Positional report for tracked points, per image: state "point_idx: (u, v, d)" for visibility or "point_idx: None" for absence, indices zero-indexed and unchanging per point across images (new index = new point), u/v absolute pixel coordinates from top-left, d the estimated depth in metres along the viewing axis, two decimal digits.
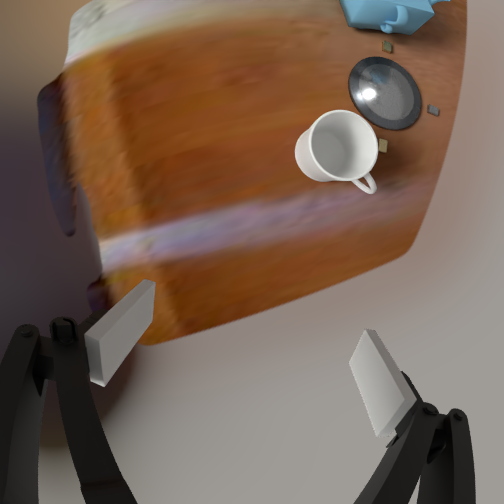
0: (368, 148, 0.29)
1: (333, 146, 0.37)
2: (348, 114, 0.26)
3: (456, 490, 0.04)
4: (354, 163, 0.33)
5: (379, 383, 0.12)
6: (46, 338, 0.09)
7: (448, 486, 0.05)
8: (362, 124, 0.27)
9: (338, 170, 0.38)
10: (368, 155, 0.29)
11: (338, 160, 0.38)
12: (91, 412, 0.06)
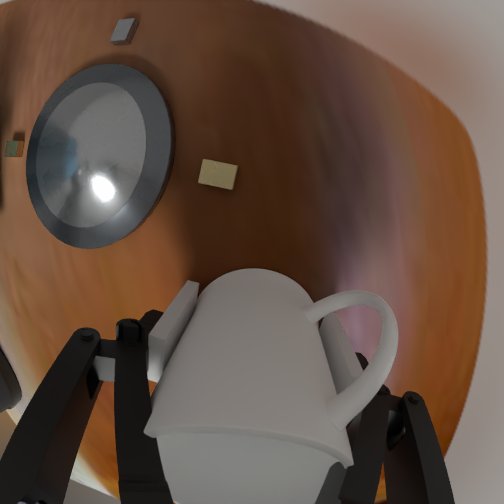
0: None
1: None
2: None
3: (427, 479, 0.05)
4: None
5: (333, 362, 0.13)
6: (105, 340, 0.10)
7: (418, 476, 0.05)
8: None
9: None
10: None
11: None
12: (146, 412, 0.07)
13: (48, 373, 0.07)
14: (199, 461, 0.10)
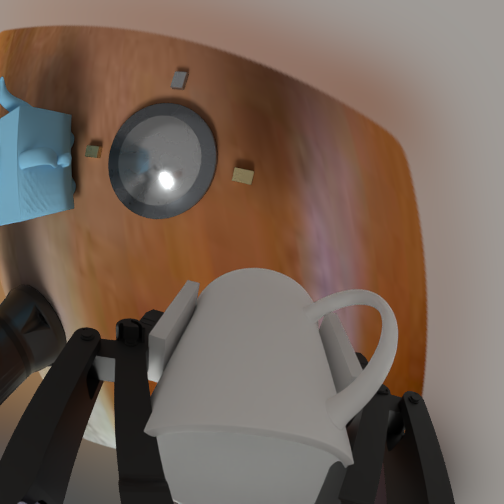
0: None
1: None
2: None
3: (427, 479, 0.05)
4: None
5: (333, 362, 0.13)
6: (105, 340, 0.10)
7: (418, 475, 0.05)
8: None
9: None
10: None
11: None
12: (146, 412, 0.07)
13: (48, 373, 0.07)
14: (200, 460, 0.10)
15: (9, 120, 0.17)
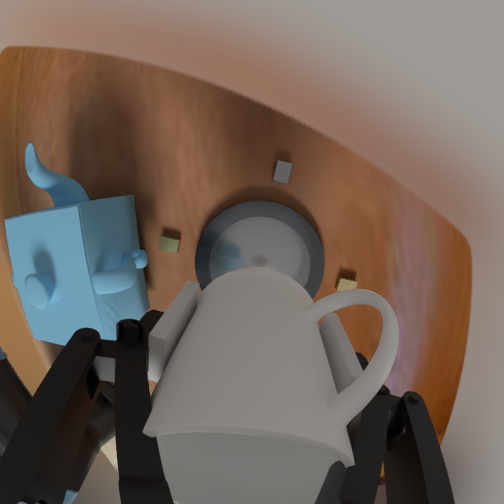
0: None
1: None
2: None
3: (427, 479, 0.05)
4: None
5: (333, 362, 0.13)
6: (105, 340, 0.10)
7: (418, 475, 0.05)
8: None
9: None
10: None
11: None
12: (146, 412, 0.07)
13: (48, 373, 0.07)
14: (200, 460, 0.10)
15: (61, 221, 0.17)
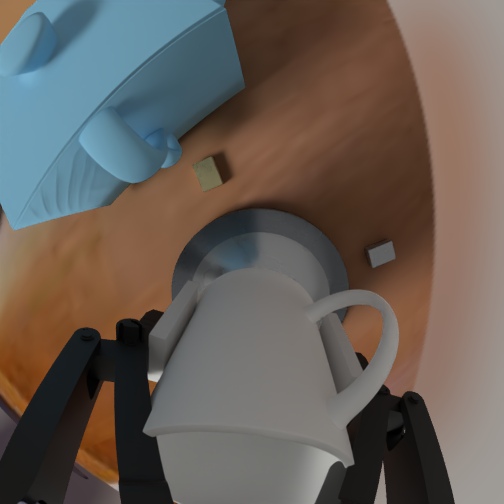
0: None
1: None
2: None
3: (427, 479, 0.05)
4: None
5: (333, 362, 0.13)
6: (105, 340, 0.10)
7: (418, 476, 0.05)
8: None
9: None
10: None
11: None
12: (146, 412, 0.07)
13: (48, 373, 0.07)
14: (199, 460, 0.10)
15: None
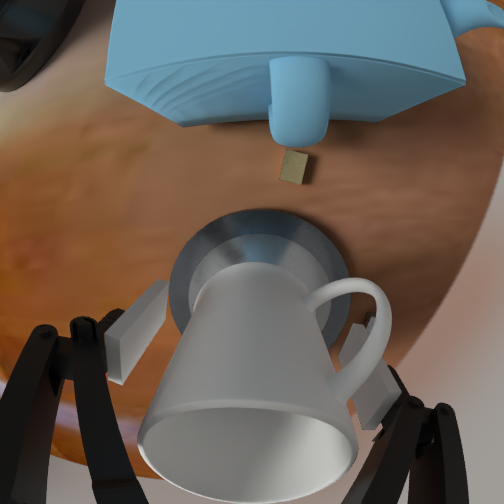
0: None
1: None
2: (148, 440, 0.08)
3: (448, 486, 0.04)
4: None
5: None
6: (64, 338, 0.09)
7: (439, 482, 0.05)
8: None
9: None
10: None
11: None
12: (108, 411, 0.06)
13: (13, 373, 0.06)
14: (206, 448, 0.11)
15: (433, 29, 0.05)
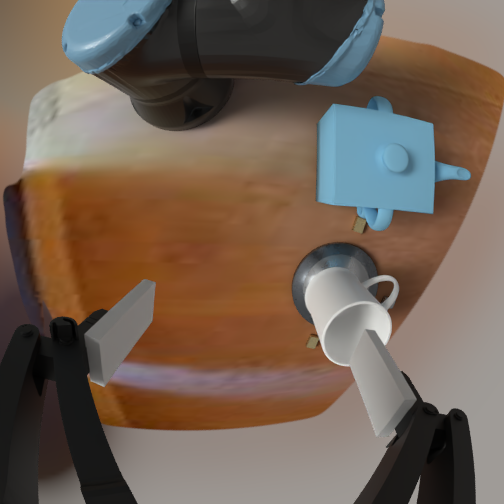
0: None
1: None
2: (327, 327, 0.27)
3: (456, 490, 0.04)
4: None
5: (379, 383, 0.12)
6: (46, 338, 0.09)
7: (448, 486, 0.05)
8: None
9: None
10: None
11: None
12: (91, 412, 0.06)
13: None
14: (329, 345, 0.30)
15: (427, 195, 0.25)
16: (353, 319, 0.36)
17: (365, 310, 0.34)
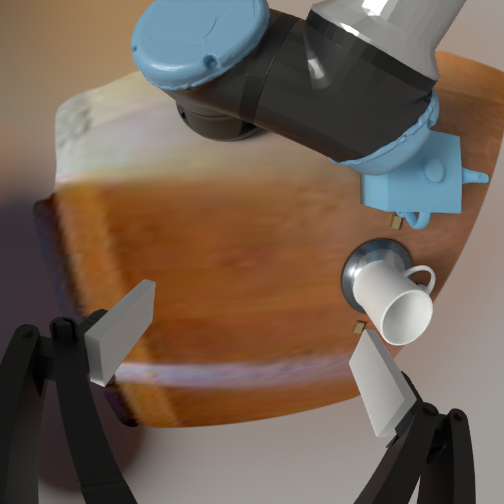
0: None
1: None
2: (384, 313, 0.30)
3: (456, 490, 0.04)
4: None
5: (379, 383, 0.12)
6: (46, 338, 0.09)
7: (448, 486, 0.05)
8: None
9: None
10: None
11: None
12: (91, 412, 0.06)
13: None
14: None
15: (456, 198, 0.28)
16: (395, 304, 0.39)
17: (405, 296, 0.37)
